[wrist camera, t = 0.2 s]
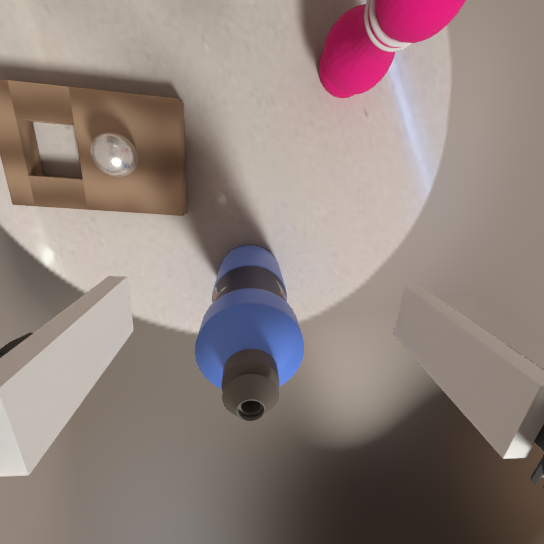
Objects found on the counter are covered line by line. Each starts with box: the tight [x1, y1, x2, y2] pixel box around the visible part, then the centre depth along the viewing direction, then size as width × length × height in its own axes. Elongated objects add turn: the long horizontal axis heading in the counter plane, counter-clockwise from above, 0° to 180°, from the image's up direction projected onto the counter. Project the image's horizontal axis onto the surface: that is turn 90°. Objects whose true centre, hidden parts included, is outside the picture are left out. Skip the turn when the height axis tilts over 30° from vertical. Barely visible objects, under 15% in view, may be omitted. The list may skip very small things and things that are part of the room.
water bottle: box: [195, 245, 304, 421], centre depth 29 cm, size 9×9×25 cm
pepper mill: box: [319, 0, 465, 98], centre depth 23 cm, size 7×7×20 cm
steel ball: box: [91, 132, 138, 177], centre depth 30 cm, size 4×4×4 cm
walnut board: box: [0, 79, 187, 216], centre depth 33 cm, size 13×20×2 cm, turn 85°
